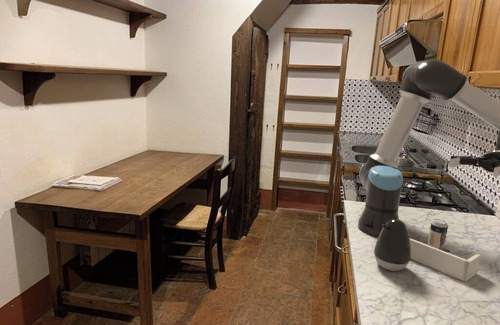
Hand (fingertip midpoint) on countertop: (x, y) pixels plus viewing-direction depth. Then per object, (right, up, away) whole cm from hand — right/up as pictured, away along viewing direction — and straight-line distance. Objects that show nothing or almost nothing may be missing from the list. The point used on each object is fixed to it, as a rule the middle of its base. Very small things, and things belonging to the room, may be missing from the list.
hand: (471, 167), depth 118 cm
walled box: (-15, -29, -5) cm, 33 cm away
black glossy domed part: (-31, -30, -11) cm, 45 cm away
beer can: (-15, -29, -4) cm, 32 cm away
